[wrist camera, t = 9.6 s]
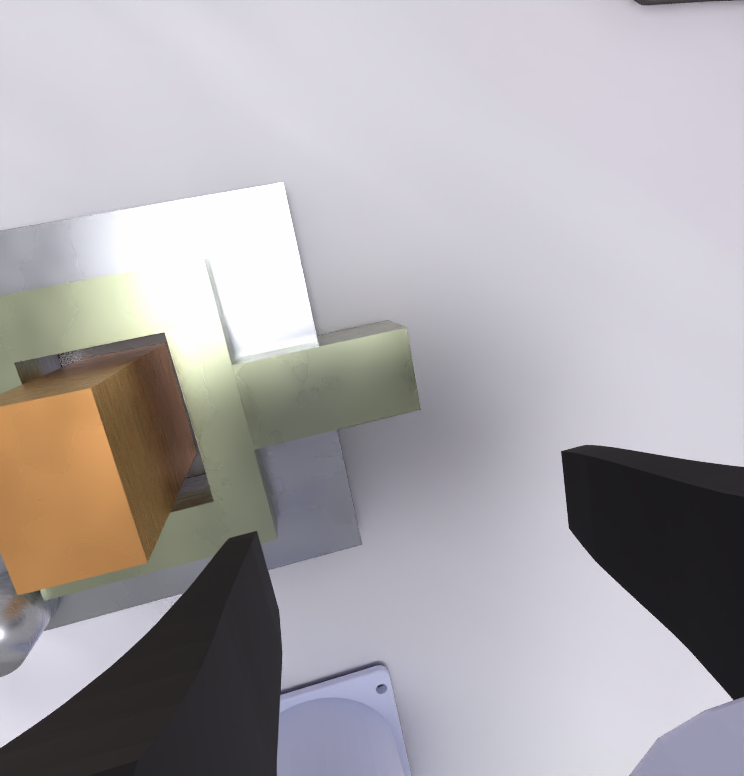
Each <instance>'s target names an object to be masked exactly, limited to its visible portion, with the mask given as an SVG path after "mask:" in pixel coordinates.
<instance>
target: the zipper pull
mask: <svg viewBox="0 0 744 776" xmlns="http://www.w3.org/2000/svg"><path fill="white" fill-rule="evenodd" d="M635 1H637V2H638V3H639V4H641V5H657V4H673V3H689V2H705V1H731V0H635Z"/></svg>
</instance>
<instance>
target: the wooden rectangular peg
mask: <svg viewBox="0 0 744 776" xmlns="http://www.w3.org/2000/svg"><path fill="white" fill-rule="evenodd" d="M196 453H197V452H196V449H195V445H194V442H193V438H192V435H191V431H190V427H189V424H188V420H187V417H186V413H185V410H184V406H183V402H182V399H181V395H180V392H179V388H178V384H177V381H176V377H175V374H174V370H173V367H172V363H171V359H170V356H169V352H168V349H167V345H166V342H165V343H160V344H155V345H150V346H145V347H139V348H134V349H129V350H124V351H119V352H114V353H108V354H103V355H98V356H93V357H88V358H83V359H80V360H78V361H75V362H73V363H71V364H68V365H66V366H64V367H62V368H59V369H57V370H55V371H52V372H50V373H48V374H45V375H43V376H41V377H38V378H36V379H34V380H31V381H29V382H27V383H25V384H22V385H20V386H18V387H15V388H13V389H11V390H8V391H6V392H4V393H1V394H0V553H1V556H2V558H3V561H4V563H5V566H6V568H7V571H8V573H9V575H10V578H11V580H12V583H13V585H14V588H15V590H16V593H17V595H22V594H26V593H30V592H34V591H38V590H42V589H46V588H50V587H54V586H58V585H62V584H66V583H70V582H74V581H78V580H82V579H86V578H90V577H94V576H98V575H102V574H106V573H110V572H114V571H118V570H122V569H126V568H130V567H134V566H138V565H142V564H146V563H148V561H149V559H150V556H151V554H152V552H153V550H154V547H155V545H156V543H157V541H158V538H159V536H160V534H161V532H162V529H163V527H164V525H165V523H166V521H167V518H168V516H169V514H170V512H171V509H172V507H173V505H174V503H175V500H176V498H177V496H178V494H179V491H180V489H181V487H182V485H183V482H184V480H185V478H186V476H187V473H188V471H189V469H190V467H191V465H192V462H193V460H194V458H195V456H196Z"/></svg>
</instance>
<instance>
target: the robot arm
mask: <svg viewBox="0 0 744 776" xmlns="http://www.w3.org/2000/svg"><path fill="white" fill-rule="evenodd" d="M561 454H562V464H563V473H564V483H565V493H566V503H567V513H568V523H569V529H570V530H571V531H572V533H573V534H574V535H575V537H576V538H577V539H578V540H579V542H580V543H581V544H582V546H583V547H584V548H585V549H586V550H587V552H588V553H589V554H590V555H591V556H592V558H593V559H594V560H595V561H596V562H597V563H598V564H599V565H600V566H601V567H602V568H603V569H604V570H605V571H606V572H607V573H608V574H609V575H610V576H611V577H613V578H614V579H615V580H616V581H617V582H618V583H619V584H620V585H621V586H622V587H623V588H624V589H625V590H626V591H627V592H629V593H630V594H631V595H632V596H633V597H634V598H635V599H636V600H637V601H638V602H639V603H640V604H642V605H643V606H644V607H645V608H646V609H647V610H648V611H649V612H650V613H651V614H652V615H653V616H655V617H656V618H657V619H658V620H659V621H660V622H661V623H662V624H663V625H664V626H665V627H666V628H667V629H669V630H670V631H671V632H672V633H673V634H674V635H675V636H676V637H677V638H678V639H679V640H680V641H681V642H682V643H683V644H684V645H685V646H686V647H687V648H688V649H689V650H690V651H691V652H692V654H693V655H694V656H695V657H696V658H697V659H698V660H699V661H700V663H701V664H702V665H703V666H704V667H705V668H706V669H707V670H708V672H709V673H710V674H711V675H712V676H713V677H714V678H715V679H716V681H717V682H718V683H719V684H720V685H721V686H722V687H723V688H724V689H725V691H726V692H727V693H728V694H729V695H730V696H731V698H732V699H733V700H734V701H731V702H728V703H725V704H722V705H719V706H716V707H713V708H711V709H708V710H705V711H703V712H701V713H700V714H698V715H696V716H695V717H693V718H691V719H690V720H688V721H686V722H685V723H683V724H681V725H679V726H678V727H676V728H674V729H673V730H671V731H669V732H668V733H666V734H664V735H663V736H661V737H659V738H658V739H657V740H656V741H655V743H654V744H653V745H652V747H651V748H650V749H649V751H648V752H647V753H646V754H645V756H644V757H643V758H642V760H641V761H640V762H639V763H638V765H637V766H636V767H635V769H634V770H633V771H632V773H631V774H630V775H629V776H744V467H738V466H729V465H722V464H714V463H707V462H699V461H693V460H686V459H680V458H674V457H668V456H662V455H656V454H650V453H644V452H638V451H632V450H626V449H620V448H613V447H606V446H596V445H583V446H580V447H576V448H572V449H568V450H564V451H561ZM281 671H282V642H281V629H280V617H279V609H278V605H277V602H276V598H275V594H274V591H273V587H272V583H271V580H270V576H269V572H268V569H267V565H266V562H265V558H264V554H263V551H262V547H261V543H260V540H259V536H258V532H257V531H254V532H250V533H246V534H243V535H239V536H235V537H231V538H229V539H228V540H227V541H226V542H225V543H224V544H223V545H222V547H221V548H220V549H219V550H218V552H217V553H216V554H215V556H214V557H213V558H212V559H211V561H210V562H209V563H208V564H207V566H206V567H205V568H204V569H203V571H202V572H201V573H200V574H199V576H198V577H197V578H196V579H195V581H194V582H193V583H192V584H191V586H190V587H189V588H188V589H187V590H186V591H185V593H184V594H183V595H182V596H181V597H180V598H179V599H178V600H177V601H176V603H175V604H174V605H173V606H172V607H171V608H170V609H169V610H168V611H167V613H166V614H165V615H164V616H163V617H162V618H161V619H160V620H159V621H158V623H157V624H156V625H155V626H154V627H153V628H152V629H151V630H150V631H149V632H148V633H147V634H146V635H145V636H144V637H143V638H142V639H141V640H140V641H138V642H137V643H136V644H135V645H134V646H133V647H132V648H131V649H130V650H129V651H128V652H126V653H125V654H124V655H123V656H122V657H121V658H120V659H119V660H118V661H117V662H115V663H114V664H113V665H112V666H111V667H110V668H108V669H107V670H106V671H105V672H103V673H102V674H101V675H100V676H98V677H97V678H96V679H95V680H93V681H92V682H91V683H90V684H88V685H87V686H86V687H85V688H83V689H82V690H81V691H80V692H78V693H77V694H76V695H75V696H73V697H72V698H71V699H70V700H68V701H67V702H66V703H65V704H63V705H62V706H60V707H59V708H58V709H56V710H55V711H54V712H52V713H51V714H49V715H48V716H47V717H45V718H44V719H42V720H41V721H40V722H38V723H37V724H35V725H34V726H33V727H31V728H30V729H28V730H27V731H25V732H24V733H22V734H21V735H19V736H18V737H16V738H15V739H13V740H12V741H10V742H9V743H7V744H6V745H4V746H3V747H2V748H0V776H412V775H411V771H410V766H409V762H408V757H407V753H406V748H405V743H404V739H403V734H402V730H401V725H400V721H399V716H398V711H397V707H396V702H395V698H394V693H393V689H392V684H391V679H390V675H389V672H388V669H387V668H386V667H385V666H381V665H378V666H374V667H371V668H367V669H364V670H361V671H357V672H354V673H351V674H348V675H344V676H341V677H338V678H335V679H331V680H328V681H325V682H322V683H318V684H315V685H312V686H308V687H305V688H302V689H299V690H295V691H292V692H289V693H286V694H282V695H280V692H281ZM380 684H384V686H382V687H377V686H378V685H380Z"/></svg>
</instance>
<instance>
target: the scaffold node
mask: <svg viewBox="0 0 744 776" xmlns="http://www.w3.org/2000/svg"><path fill="white" fill-rule="evenodd" d="M162 332H164V333H165V336H166V339H167V343H168V346H169V350H170V353H171V356H172V360H173V363H174V367H175V370H176V374H177V377H178V380H179V384H180V387H181V391H182V394H183V397H184V401H185V404H186V408H187V411H188V414H189V418H190V421H191V425H192V428H193V431H194V435H195V438H196V442H197V445H198V448H199V452H200V455H201V459H202V462H203V465H204V469H205V472H206V474H203V475H199V476H195V477H191V478H187V479H185V480H184V482H183V485H182V487H181V489H180V491H179V494H178V496H177V498H176V500H175V503H174V505H173V507H172V509H171V512H170V514H169V516H168V518H167V521H166V523H165V525H164V527H163V529H162V532H161V534H160V536H159V538H158V541H157V543H156V545H155V547H154V550H153V552H152V554H151V556H150V559H149V561H148V563H146V564H142V565H138V566H134V567H130V568H126V569H122V570H118V571H114V572H110V573H106V574H102V575H98V576H94V577H90V578H86V579H82V580H78V581H74V582H70V583H66V584H62V585H58V586H54V587H50V588H46V589H42V590H38V591H34V592H30V593H26V594H22V595H17V593H16V590H15V588H14V585H13V583H12V580H11V578H10V575H9V573H8V571H7V568H6V566H5V563H4V561H3V558H2V556H1V553H0V677H2V676H5V675H7V674H9V673H11V672H13V671H14V670H16V669H17V668H18V667H19V666H20V665H21V664H22V663H23V661H24V660H25V658H26V657H27V655H28V654H29V652H30V651H31V649H32V648H33V646H34V645H35V643H36V642H37V640H38V638H39V637H40V635H41V634H42V632H43V631H46V630H50V629H53V628H57V627H61V626H64V625H68V624H72V623H75V622H79V621H83V620H86V619H90V618H94V617H97V616H101V615H105V614H108V613H112V612H116V611H119V610H123V609H127V608H130V607H134V606H138V605H141V604H145V603H149V602H152V601H156V600H160V599H164V598H167V597H171V596H175V595H178V594H182V593H185V591H186V590H187V589H188V588H189V587H190V586H191V584H192V583H193V582H194V581H195V579H196V578H197V577H198V576H199V574H200V573H201V572H202V571H203V569H204V568H205V567H206V566H207V564H208V563H209V562H210V561H211V559H212V558H213V557H214V556H215V554H216V553H217V552H218V550H219V549H220V548H221V547H222V545H223V544H224V543H225V542H226V541H227V540H228V539H229V538H231V537H235V536H239V535H243V534H246V533H250V532H254V531H257V532H258V536H259V540H260V543H261V547H262V551H263V554H264V558H265V562H266V565H267V569H268V570H270V569H274V568H277V567H281V566H285V565H288V564H292V563H296V562H299V561H303V560H307V559H310V558H314V557H318V556H322V555H325V554H329V553H333V552H336V551H340V550H344V549H347V548H351V547H355V546H358V545H362V542H361V537H360V533H359V528H358V523H357V519H356V514H355V510H354V505H353V500H352V496H351V491H350V487H349V482H348V478H347V473H346V468H345V464H344V459H343V455H342V450H341V445H340V441H339V436H338V432H337V430H338V429H342V428H346V427H351V426H355V425H359V424H363V423H367V422H371V421H376V420H380V419H384V418H388V417H392V416H396V415H401V414H405V413H409V412H413V411H417V410H421V409H420V404H419V398H418V392H417V386H416V380H415V375H414V369H413V363H412V357H411V351H410V346H409V340H408V334H407V328H406V327H403V326H401V325H398V324H396V323H393V322H391V321H389V320H387V321H382V322H378V323H373V324H368V325H364V326H359V327H354V328H350V329H345V330H340V331H336V332H331V333H326V334H322V335H316V331H315V326H314V322H313V317H312V312H311V308H310V303H309V299H308V294H307V290H306V285H305V280H304V276H303V271H302V267H301V262H300V257H299V253H298V248H297V244H296V239H295V234H294V230H293V225H292V221H291V216H290V212H289V207H288V202H287V198H286V193H285V189H284V184H283V182H282V183H276V184H270V185H264V186H258V187H253V188H247V189H241V190H235V191H229V192H223V193H218V194H212V195H206V196H200V197H194V198H188V199H183V200H177V201H171V202H165V203H159V204H153V205H148V206H142V207H136V208H130V209H124V210H118V211H113V212H107V213H101V214H95V215H89V216H83V217H78V218H72V219H66V220H60V221H54V222H48V223H43V224H37V225H31V226H25V227H19V228H13V229H8V230H2V231H0V394H1V393H4V392H6V391H8V390H11V389H13V388H15V387H18V386H20V385H22V384H25V383H27V382H29V381H31V380H34V379H36V378H38V377H41V376H43V375H45V374H48V373H50V372H52V371H55V370H57V369H59V368H62V367H61V364H60V361H59V358H58V355H57V354H59V353H64V352H69V351H74V350H79V349H84V348H89V347H94V346H99V345H104V344H108V343H113V342H118V341H123V340H128V339H133V338H138V337H143V336H148V335H152V334H157V333H162Z"/></svg>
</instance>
